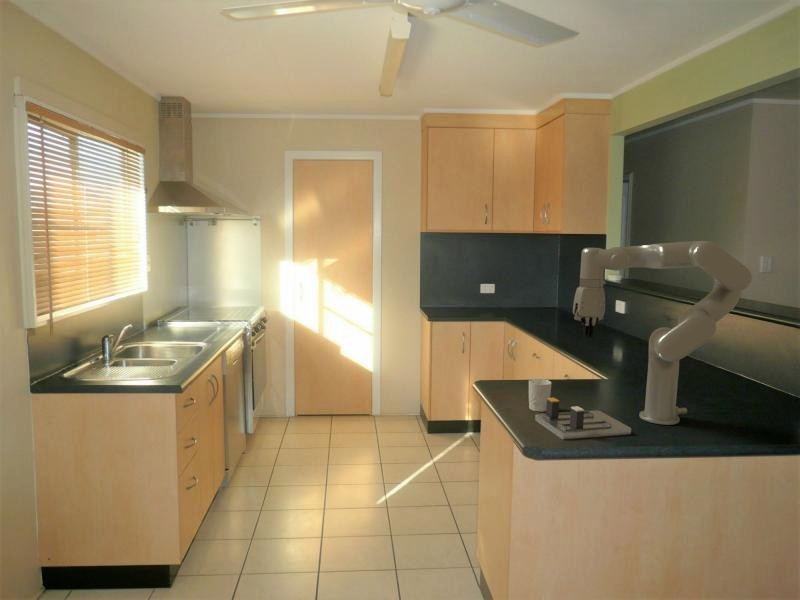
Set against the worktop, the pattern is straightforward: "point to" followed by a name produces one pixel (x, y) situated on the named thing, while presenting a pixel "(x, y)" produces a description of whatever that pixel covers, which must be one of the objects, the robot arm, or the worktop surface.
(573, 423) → the fader
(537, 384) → the white cup
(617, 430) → the console
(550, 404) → the block
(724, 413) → the worktop surface
